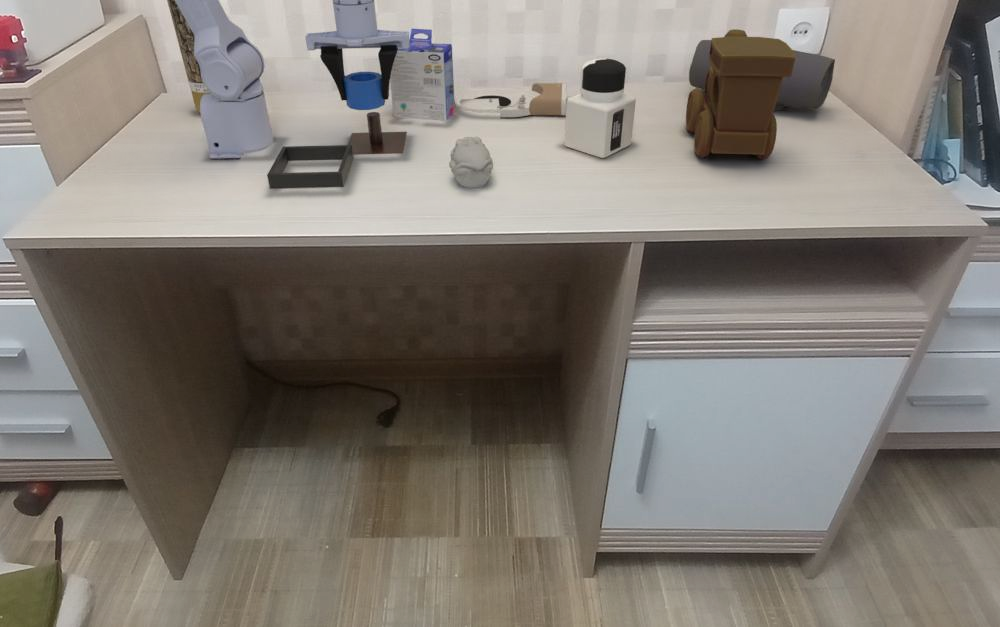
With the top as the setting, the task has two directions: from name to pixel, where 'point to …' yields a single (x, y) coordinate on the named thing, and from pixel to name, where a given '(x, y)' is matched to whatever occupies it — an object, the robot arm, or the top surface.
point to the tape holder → (377, 139)
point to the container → (600, 110)
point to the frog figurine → (471, 162)
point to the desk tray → (310, 178)
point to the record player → (521, 100)
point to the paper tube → (188, 53)
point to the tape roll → (363, 90)
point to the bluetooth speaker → (795, 91)
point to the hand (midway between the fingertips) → (365, 97)
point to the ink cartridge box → (423, 79)
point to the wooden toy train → (739, 95)
